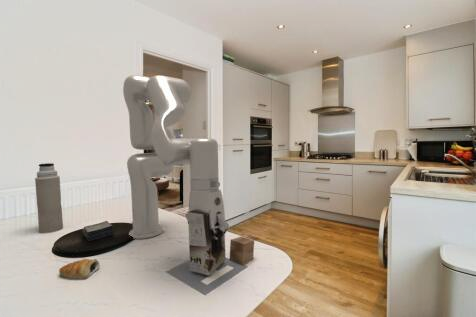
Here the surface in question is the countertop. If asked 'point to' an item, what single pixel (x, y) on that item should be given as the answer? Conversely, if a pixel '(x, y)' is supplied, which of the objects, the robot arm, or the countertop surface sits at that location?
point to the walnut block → (241, 250)
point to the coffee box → (203, 244)
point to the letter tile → (203, 281)
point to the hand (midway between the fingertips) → (206, 247)
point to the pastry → (79, 269)
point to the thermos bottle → (48, 199)
